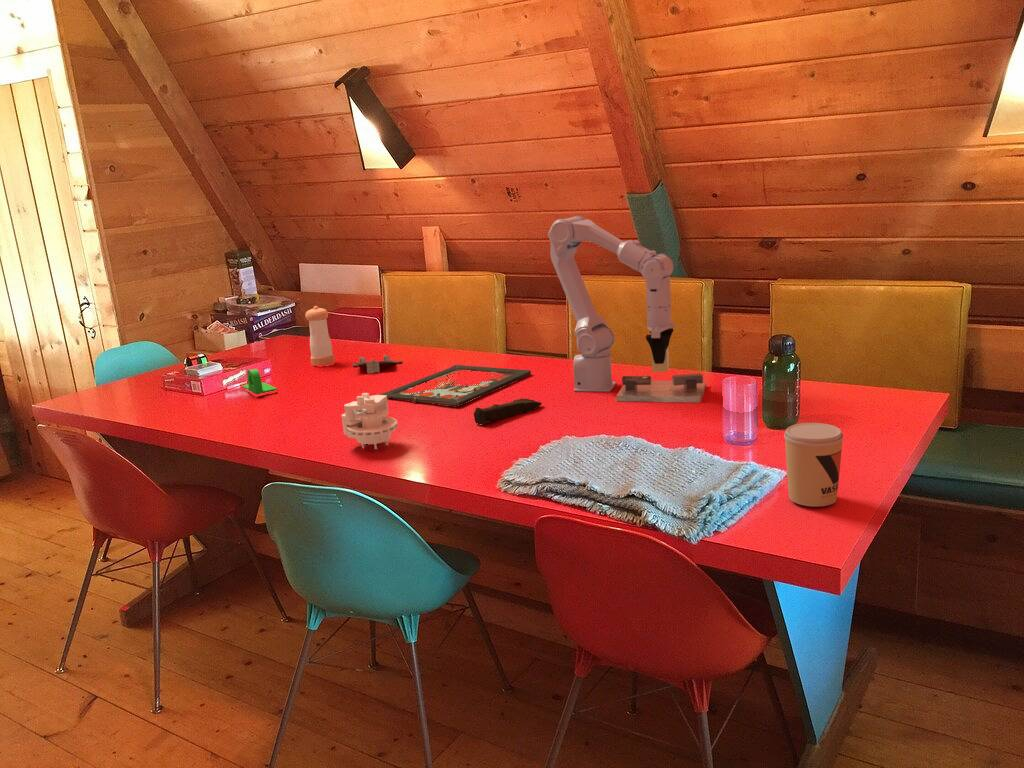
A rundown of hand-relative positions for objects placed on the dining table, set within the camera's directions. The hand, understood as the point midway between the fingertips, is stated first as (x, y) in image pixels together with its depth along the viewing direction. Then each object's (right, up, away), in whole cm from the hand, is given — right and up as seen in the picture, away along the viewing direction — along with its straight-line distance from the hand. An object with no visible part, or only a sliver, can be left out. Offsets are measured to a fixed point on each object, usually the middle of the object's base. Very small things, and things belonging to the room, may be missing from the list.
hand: (660, 360), depth 217 cm
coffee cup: (+15, -25, -66) cm, 72 cm away
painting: (-51, -7, +24) cm, 57 cm away
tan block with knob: (0, -2, +1) cm, 2 cm away
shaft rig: (+1, -8, +2) cm, 8 cm away
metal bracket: (-70, 0, +50) cm, 86 cm away
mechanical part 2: (-67, -20, -21) cm, 73 cm away
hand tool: (-37, -14, -14) cm, 42 cm away
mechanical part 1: (-108, -9, +34) cm, 113 cm away
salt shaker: (-95, 0, +61) cm, 113 cm away
